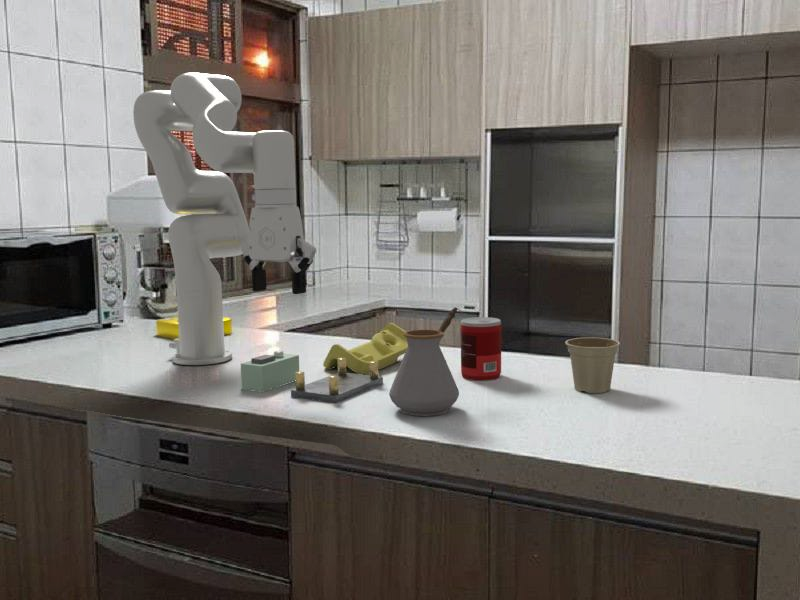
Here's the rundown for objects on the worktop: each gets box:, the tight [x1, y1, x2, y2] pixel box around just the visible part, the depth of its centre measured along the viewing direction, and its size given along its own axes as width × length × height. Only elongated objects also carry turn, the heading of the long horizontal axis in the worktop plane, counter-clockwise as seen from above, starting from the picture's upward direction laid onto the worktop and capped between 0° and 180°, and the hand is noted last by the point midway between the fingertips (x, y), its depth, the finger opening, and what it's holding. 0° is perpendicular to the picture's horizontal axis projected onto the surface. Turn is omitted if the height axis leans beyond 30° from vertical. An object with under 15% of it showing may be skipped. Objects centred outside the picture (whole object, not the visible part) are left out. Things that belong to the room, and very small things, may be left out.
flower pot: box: [564, 336, 621, 394], centre depth 140 cm, size 9×9×9 cm
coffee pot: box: [389, 306, 463, 417], centre depth 133 cm, size 21×12×15 cm, turn 155°
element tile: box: [155, 316, 233, 340], centre depth 206 cm, size 15×15×5 cm
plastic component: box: [322, 322, 408, 375], centre depth 165 cm, size 20×7×10 cm
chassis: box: [290, 358, 384, 404], centre depth 144 cm, size 10×16×4 cm, turn 150°
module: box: [240, 350, 300, 393], centre depth 149 cm, size 5×11×6 cm, turn 150°
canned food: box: [460, 316, 502, 382], centre depth 152 cm, size 8×8×11 cm
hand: (279, 292), depth 147 cm, fingers open, 9 cm apart
